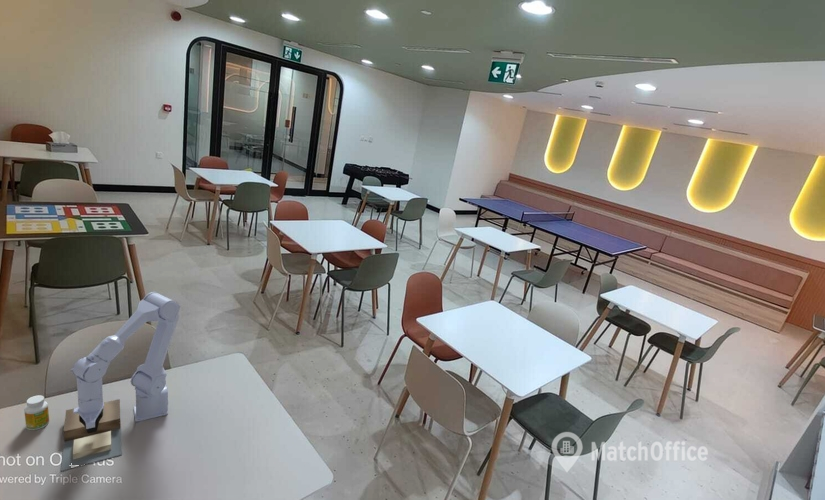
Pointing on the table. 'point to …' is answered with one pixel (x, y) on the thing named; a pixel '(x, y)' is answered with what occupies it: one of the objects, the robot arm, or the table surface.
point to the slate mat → (100, 456)
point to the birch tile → (92, 445)
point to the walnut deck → (106, 423)
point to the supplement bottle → (36, 413)
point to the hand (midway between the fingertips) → (92, 431)
